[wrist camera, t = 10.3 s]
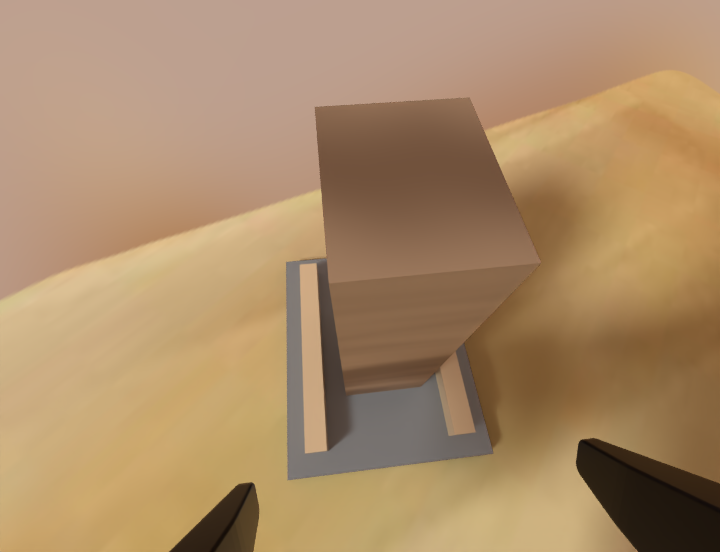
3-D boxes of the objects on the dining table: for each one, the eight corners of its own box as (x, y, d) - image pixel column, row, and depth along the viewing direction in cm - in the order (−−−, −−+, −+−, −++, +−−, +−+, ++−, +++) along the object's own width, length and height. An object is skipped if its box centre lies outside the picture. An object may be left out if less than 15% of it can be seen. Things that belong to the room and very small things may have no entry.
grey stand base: (487, 453, 17) (503, 453, 15) (290, 478, 16) (282, 481, 15) (436, 255, 23) (443, 238, 21) (288, 268, 22) (282, 251, 20)
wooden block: (421, 386, 18) (543, 262, 6) (346, 395, 17) (328, 283, 6) (404, 301, 20) (471, 97, 9) (338, 308, 20) (314, 107, 8)
